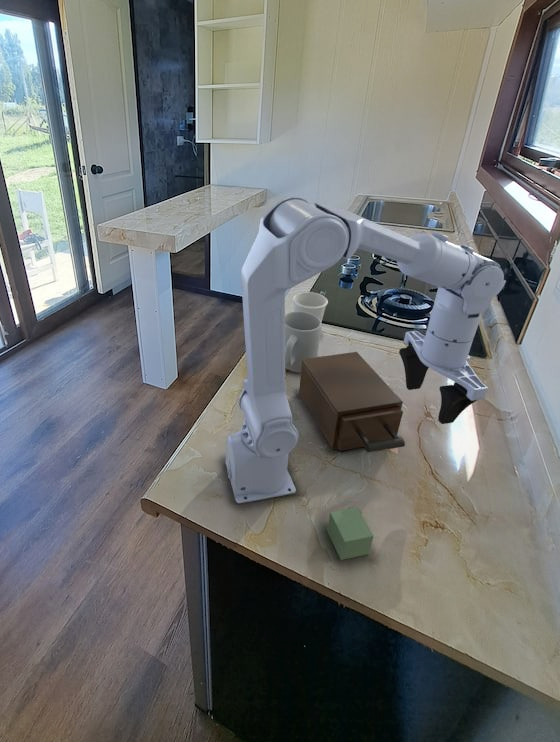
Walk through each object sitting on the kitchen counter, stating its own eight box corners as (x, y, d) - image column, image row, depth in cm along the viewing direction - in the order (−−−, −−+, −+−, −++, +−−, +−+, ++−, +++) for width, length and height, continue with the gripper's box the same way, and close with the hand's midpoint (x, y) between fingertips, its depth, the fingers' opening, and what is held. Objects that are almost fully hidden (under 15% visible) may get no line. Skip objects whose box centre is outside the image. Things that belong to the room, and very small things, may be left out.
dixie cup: (288, 339, 96) (291, 305, 92) (291, 323, 104) (294, 290, 99) (323, 344, 94) (327, 309, 90) (323, 327, 101) (328, 293, 97)
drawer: (412, 461, 62) (421, 431, 59) (352, 472, 61) (358, 441, 58) (354, 389, 78) (359, 362, 75) (306, 396, 77) (309, 369, 74)
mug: (287, 346, 94) (290, 307, 89) (321, 357, 89) (327, 316, 85) (267, 374, 85) (269, 332, 80) (304, 387, 80) (309, 343, 76)
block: (340, 560, 50) (344, 541, 48) (326, 530, 54) (329, 512, 52) (368, 554, 51) (373, 535, 49) (353, 525, 54) (357, 506, 53)
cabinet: (393, 439, 68) (403, 401, 64) (332, 449, 66) (338, 412, 62) (350, 385, 81) (356, 351, 77) (298, 392, 79) (302, 358, 75)
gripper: (519, 358, 49) (488, 435, 55) (439, 305, 62) (421, 372, 68) (470, 364, 48) (444, 442, 54) (399, 310, 61) (384, 377, 67)
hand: (428, 403), depth 61 cm, fingers open, 7 cm apart
